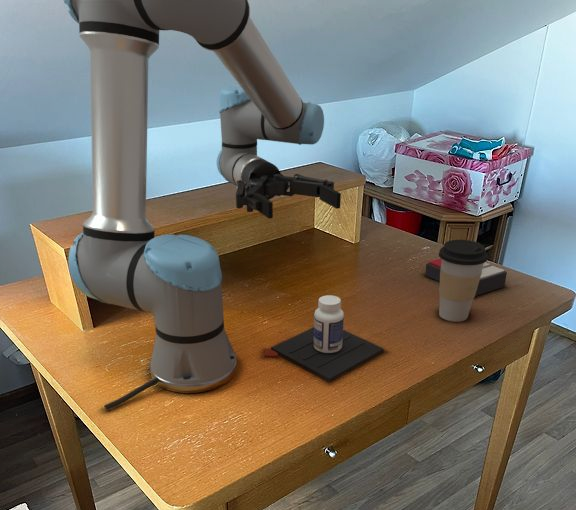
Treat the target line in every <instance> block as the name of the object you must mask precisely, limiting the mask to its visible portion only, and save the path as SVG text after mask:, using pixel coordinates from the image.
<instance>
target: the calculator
mask: <svg viewBox="0 0 576 510" xmlns="http://www.w3.org/2000/svg"><path fill="white" fill-rule="evenodd" d="M440 268H441V258H440V257H439V258H436V259H433V260H429V261H428V262H427V263H426V264H425V272H424V276H425V277H427V278H431V279H433V280H435V281H438V282H440ZM507 273H508V272H507V271H506V270H505V269H503V268H500V267H497V266H495V265H491V263H488V262H485V263H484V264H483V268H482V274H481V277H480V281H479V284H478V287H477V290H476V294H475V297H477V296H481V295H483V294H487V293H490V292H492V291H495V290H499V289H501V288H504V287H505V286H506V280H507V275H508V274H507Z"/></svg>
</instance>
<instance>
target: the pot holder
mask: <svg viewBox="0 0 576 510" xmlns="http://www.w3.org/2000/svg"><path fill="white" fill-rule="evenodd" d="M384 351H385V349H384V348H383V347H382V346H379V345H377V344H375V343H374V342H373V343H372V342H370V341H368V340H366V339H364V338H362V337H360V336H358V335H355V334H354V333H351V332H348V331H347V330H344V329H343V340H342V348H341V349H340V350H339V351H337V352H335V353H323V352H320V351H318V350H316V349H315V347H314V326H313V327H311V328H309V329H307V330H305V331H303V332H300V333H299V334H296V335H294V336H292V337H290V338H288V339H285V340H283V341H282V342H280V343H277V344H275V345H274V346H273V345H272V346H271V347H270V348H265V351H264V358H278V357H279V356H280V357H281V358H283V359H285V360H287V361H289V362H291V363H293V364H295V365H296V366H298V367H300V368H301V369H304V370H306V371H308V372H309V373H311V374H313V375H315V376H317V377H318V378H320V379H323V380H324V381H326V382H328V383H331V382H332V381H335V380H336V379H338V378H339V377H342V376H344V375H346V374H347V373H349V372H351V371H353V370H354V369H356V368H358V367H359V366H361V365H363V364H365V363H367V362H369V361H370V360H372V359H374V358H375V357H377V356H379V355H381V354H383V353H384Z"/></svg>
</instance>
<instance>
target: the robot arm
mask: <svg viewBox="0 0 576 510" xmlns="http://www.w3.org/2000/svg"><path fill="white" fill-rule="evenodd" d="M63 2H64V4H65V5H67V11H68V13H69V15H70V17H71V19H73V20H74V22H76V23H77V24H78V25H79V26H78V27H79V28H78V29H79V30H78V31H79V33H78V34H79V37H80V39H81V40H82V42H84V44H85V45H86V47H88V49H89V52H90V53H89V54H90V55H89V56H90V107H91V108H90V116H91V117H90V122H91V123H90V124H91V129H90V130H91V131H90V132H91V194H92V195H91V196H92V197H91V200H92V201H91V202H92V206H91V207H92V213H91V214H90V216H89V217H88V218H86V219H85V220H84V221H83V223H82V232H81V233H79V234H78V235H77V236H76V237H75V238H74V239H73V245H71V246H70V248H69V252H68V260H67V261H68V270H69V274H70V277H71V280H72V281H73V283H74V285H75V287H76V288H77V289H78V290H79V291H80V292H82V294H83V295H85V296H86V297H88V298H91V299H94V300H96V301H99V302H100V303H103V304H107V305H114V306H117V307H118V306H119V307H123V308H127V309H131V310H135V311H140V312H144V313H149V314H151V315H153V322H154V329H155V339H154V343H153V348H152V352H151V358H150V362H149V370H150V377H151V379H150V380H149V381H147V382H145V383H143V384H142V385H140V386H138V387H136V388H134V389H133V390H131V391H129V392H128V393H127V394H125V395H123V396H121V397H120V398H117V399H115V400H113V401H111V402H109V403H106V404H104V409H105V410H106V411H109V410H111V409H113V408H115V407H117V406H119V405H121V404H124V403H125V402H127V401H129V400H130V399H132V398H134V397H135V396H137V395H139V394H141V393H143V392H144V391H146V390H147V389H149V388H151V387H153V386H154V385H157V386H158V387H160V388H162V389H165V390H167V391H169V392H174V393H180V394H195V393H197V394H198V393H202V392H207V391H208V392H209V391H212V390H214V389H217V388H220V387H222V386H224V385H226V384H227V383H228V382H230V381H231V380H232V379H233V378H234V377H235V376H236V373H237V370H238V359H237V355H236V354H237V353H235V350H234V348H233V346H232V343H231V341H230V338H229V336H228V334H227V332H226V329H225V320H224V317H225V316H224V301H223V283H222V280H223V272H222V269H221V265H220V264H221V263H220V256H219V254H218V251H217V250H216V248H215V247H214V246H213V245H212V244H211V243H210V242H208V241H206V240H204V239H203V238H200V237H197V236H193V235H188V234H181V233H179V234H177V235H176V234H173V233H170V234H161V235H158V236H155V227H154V225H153V224H152V223H151V222H150V221H149V220H148V218H147V169H148V168H147V166H148V165H147V163H148V120H149V119H148V117H149V116H148V115H149V113H148V112H149V108H148V107H149V106H148V105H149V104H148V103H149V63H150V62H149V60H150V58H151V56H153V54H155V53H156V52H157V51H158V50H159V48H160V31H173V32H180V33H183V34H186V35H189V36H190V37H191V38H193V39H194V40H195V41H196V42H197V43H198V45H199V46H200V47H201V48H202V49H205V50H207V51H210V52H211V51H212V52H213V53H214V55H215V56H216V57H217V58H218V60H219V61H220V62H221V64H222V65H223V66H224V68H226V70H227V71H228V72H229V74H230V75H231V76H232V78H233V79H234V80H235V81H236V83H237V84H238V85H232V86H227V87H224V88H222V89H221V90H220V93H219V111H218V112H219V118H220V119H219V120H220V133H221V134H220V135H221V150H220V151H218V155H217V157H216V168H217V171H218V173H219V174H220V175H221V176H222V178H224V180H225V181H226V182H228V183H229V184H233V185H234V186H236V192H235V208H237V209H242V208H244V206H246V212H248V213H253V212H254V211H257V212H258V213H260V214H261V215H262V216H264V217H266V218H267V219H274V207H273V206H274V205H273V202H272V199H273V198H275V197H281V196H286V197H293V196H295V195H297V196H298V195H299V196H306V197H314V198H319V200H320V201H321V202H323V203H326V204H327V205H329V206H331V207H333V208H334V209H341V199H342V192H339V191H337V190H335V182H334V181H331V180H328V179H325V180H324V179H320V178H316V177H315V178H314V177H310V176H304V175H302V174H300V173H294V174H293V176H287V175H284V174H282V173H281V171H280V169H279V168H278V167H277V166H276V165H275V164H273V163H272V162H270V161H268V160H267V159H265V158H262V157H260V156H258V140H260V141H261V140H262V141H271V142H278V143H285V144H287V143H288V144H295V145H299V146H301V145H311V146H312V145H313V146H314V145H316V144H317V143H318V142H319V141H320V140H321V138H322V136H323V132H324V127H325V114H324V110H323V108H322V106H321V105H319V104H316V103H312V102H310V101H308V102H304V101H303V99H302V98H301V97H300V94H299V93H298V92H297V90H296V88H295V87H294V85H293V84H292V82H291V81H290V79H289V77H288V76H287V74H286V73H285V71H284V69H283V68H282V66H281V64H280V63H279V61H278V59H277V58H276V56H275V55H274V53H273V52H272V50H271V48H270V47H269V45H268V44H267V42H266V40H265V39H264V37H263V36H262V34H261V32H260V31H259V29H258V27H257V26H256V25H255V23H254V21H253V20H252V18H251V7H250V3H249V0H63ZM288 190H289V191H288Z"/></svg>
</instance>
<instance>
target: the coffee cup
mask: <svg viewBox="0 0 576 510" xmlns="http://www.w3.org/2000/svg"><path fill="white" fill-rule="evenodd" d="M438 257H439V259H440V258H441V268H440V281H439V289H438V293H439V306H438V307H439V308H438V309H439V310H438V312H439V313H438V316H439V317H440V318H442V319H443V320H445V321H449V322H455V323H460V322H464V321H466V320H467V319H468V318H469V314H470V311H471V308H472V304H473V301H474V299H475V297H476V296H475V294H476V290H477V287H478V284H479V281H480V277H481V274H482V268H483V264H484V263H487V262H488V260H489V258H488V252H487V250H486V246H485V245H484V244H482V243H480V242H477V241H475V240H469V239H451V240H447V241H446V242H444V243H443V246H442V247H441V248H440V249H439V252H438Z"/></svg>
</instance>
